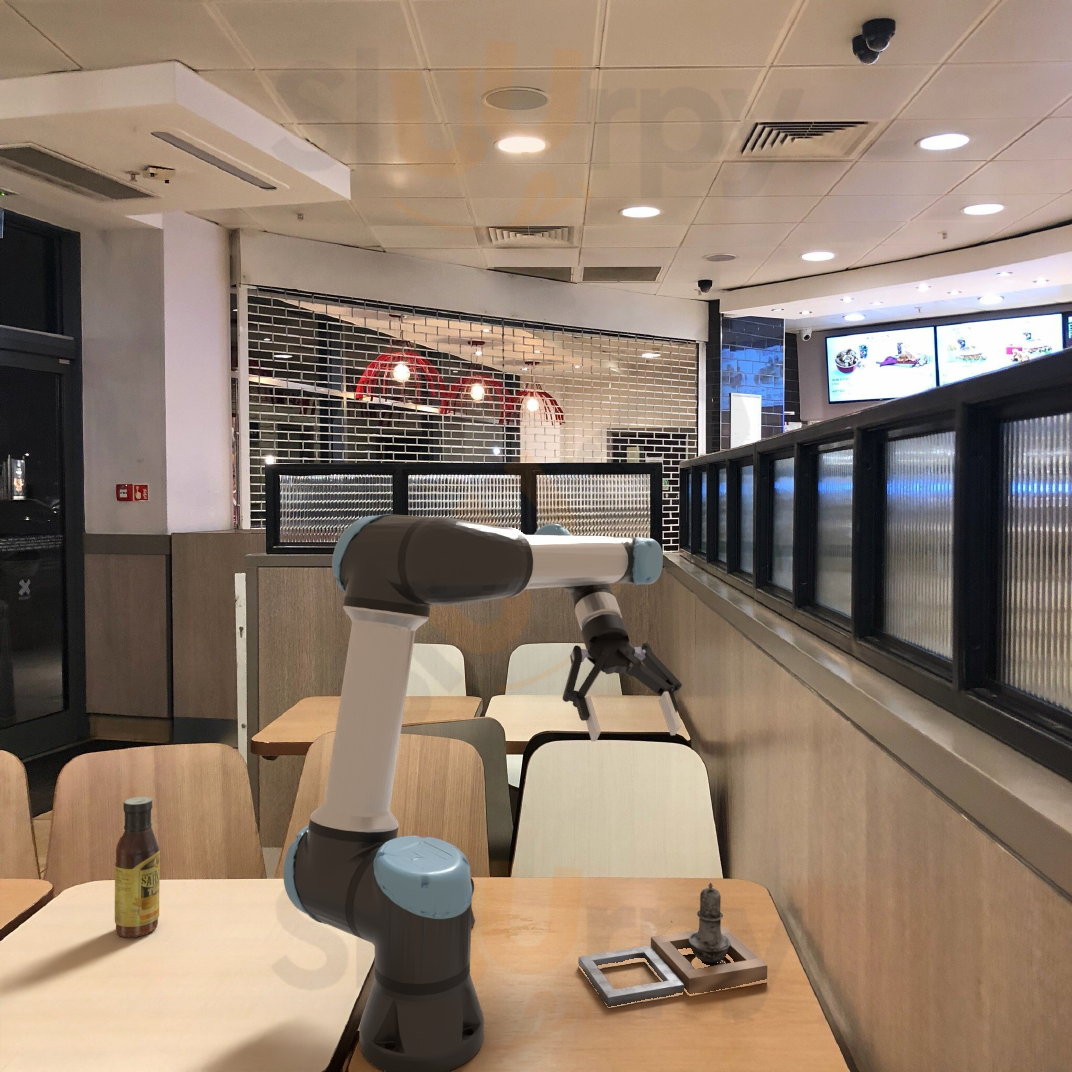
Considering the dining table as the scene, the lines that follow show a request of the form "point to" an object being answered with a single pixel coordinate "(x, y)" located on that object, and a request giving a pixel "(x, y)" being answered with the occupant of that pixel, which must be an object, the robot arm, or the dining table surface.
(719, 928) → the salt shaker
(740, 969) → the walnut holder block
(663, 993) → the metal collar
